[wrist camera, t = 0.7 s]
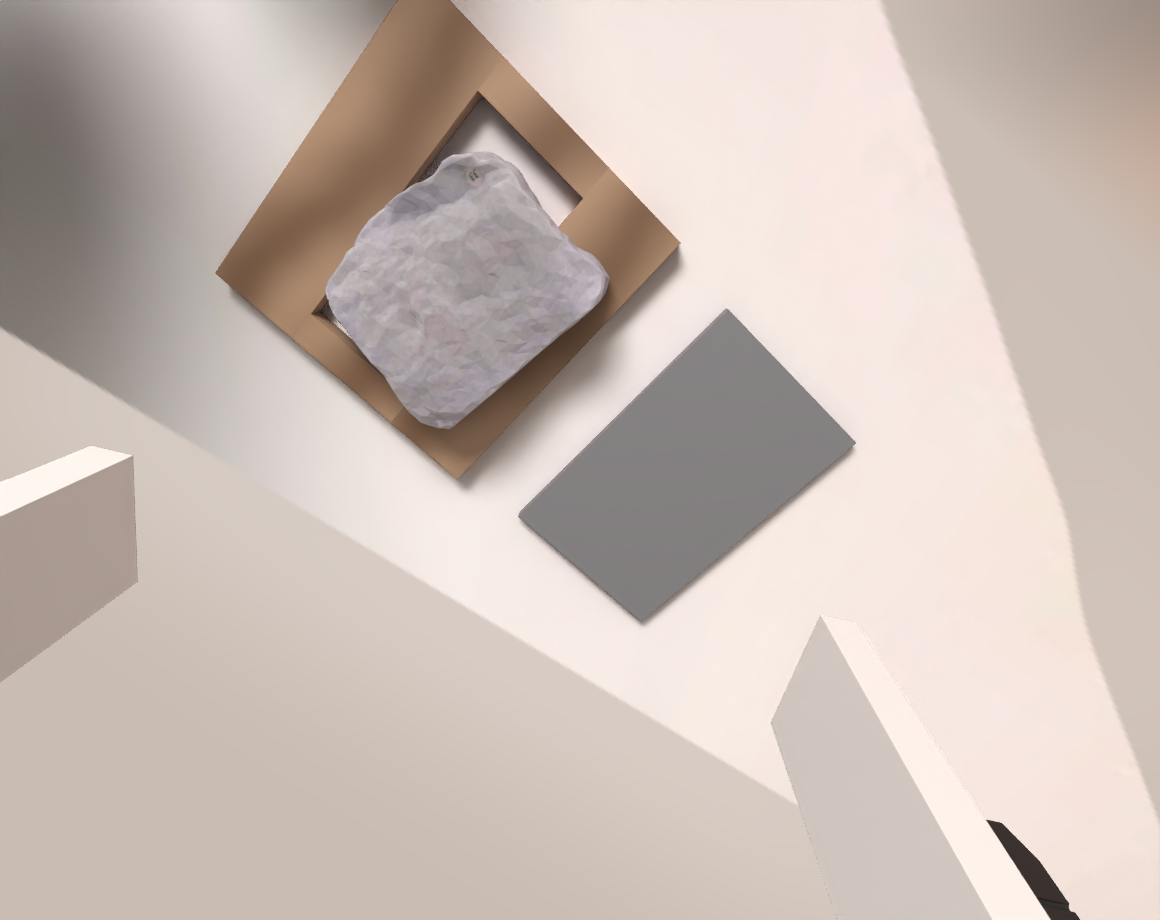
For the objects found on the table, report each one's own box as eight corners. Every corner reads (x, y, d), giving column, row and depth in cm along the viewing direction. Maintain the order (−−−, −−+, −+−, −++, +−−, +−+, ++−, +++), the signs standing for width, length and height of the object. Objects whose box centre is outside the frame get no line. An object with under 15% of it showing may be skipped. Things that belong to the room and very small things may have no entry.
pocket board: (227, 272, 31) (215, 273, 30) (425, -22, 26) (418, -32, 25) (462, 473, 34) (457, 479, 33) (678, 243, 29) (680, 243, 28)
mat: (519, 512, 35) (518, 516, 34) (726, 308, 30) (728, 309, 29) (640, 616, 37) (641, 622, 36) (852, 439, 32) (856, 443, 31)
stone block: (344, 296, 33) (460, 437, 33) (288, 286, 28) (424, 451, 28) (501, 137, 30) (626, 293, 30) (468, 97, 25) (616, 282, 26)
